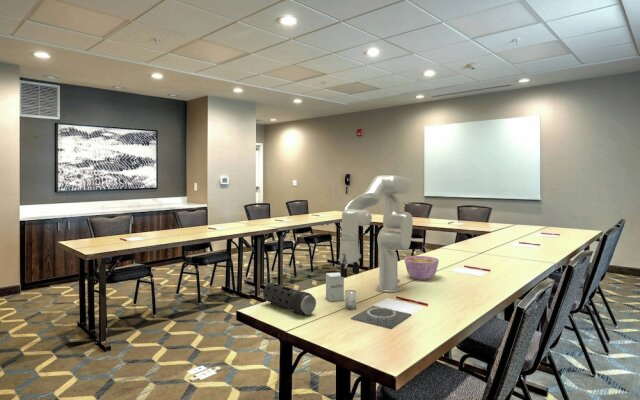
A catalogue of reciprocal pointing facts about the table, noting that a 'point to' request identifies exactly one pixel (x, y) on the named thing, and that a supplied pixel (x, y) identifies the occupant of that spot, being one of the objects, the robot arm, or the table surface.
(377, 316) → the ring mat
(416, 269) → the bowl of food
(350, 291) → the piston
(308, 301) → the muzzle brake
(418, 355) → the table surface
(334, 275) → the supplement box
